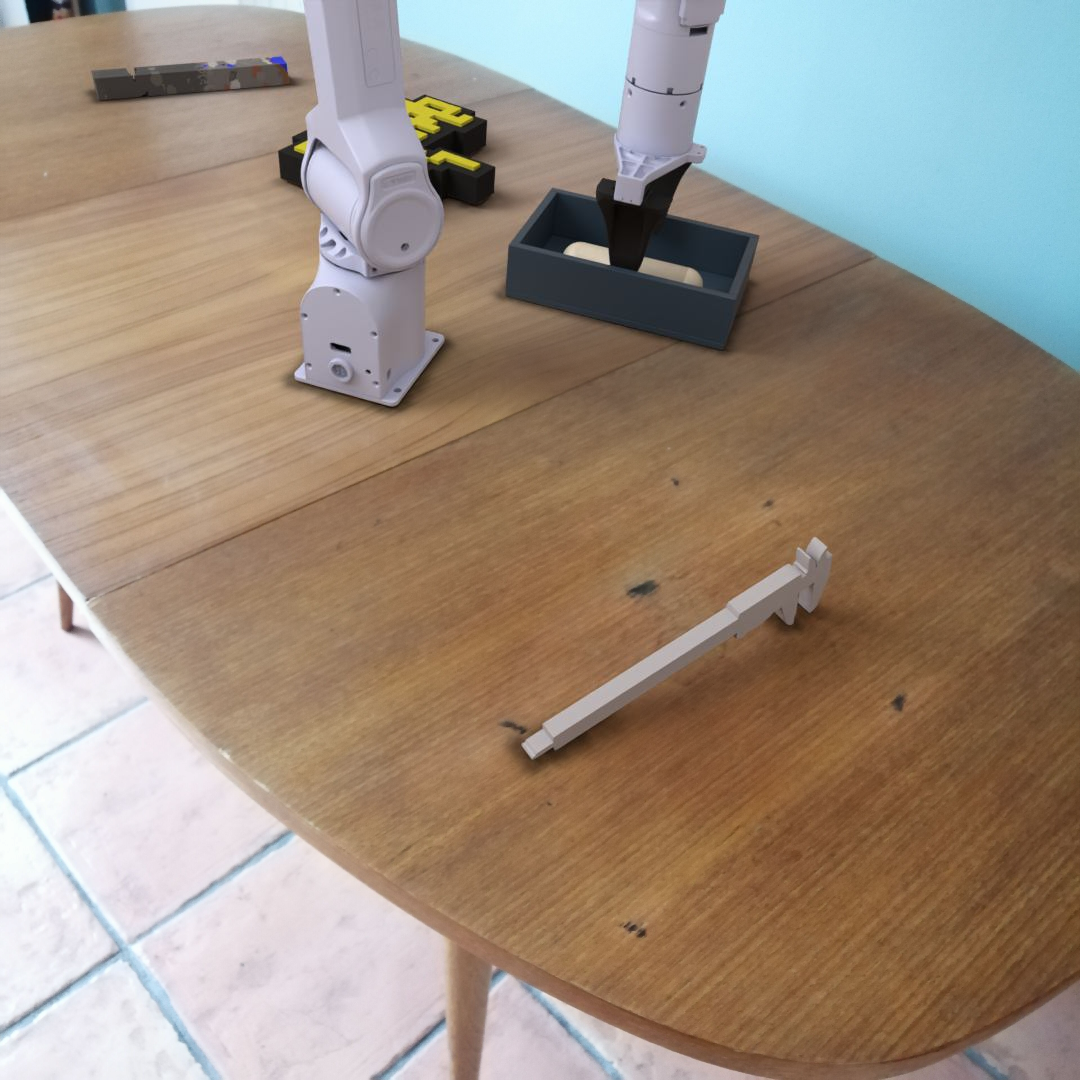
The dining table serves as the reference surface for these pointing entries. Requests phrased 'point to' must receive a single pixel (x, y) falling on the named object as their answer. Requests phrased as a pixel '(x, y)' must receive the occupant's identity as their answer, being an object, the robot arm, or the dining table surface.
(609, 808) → the dining table surface
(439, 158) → the toy
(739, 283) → the bin
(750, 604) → the caliper
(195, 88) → the pillar
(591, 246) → the cream capsule shape
